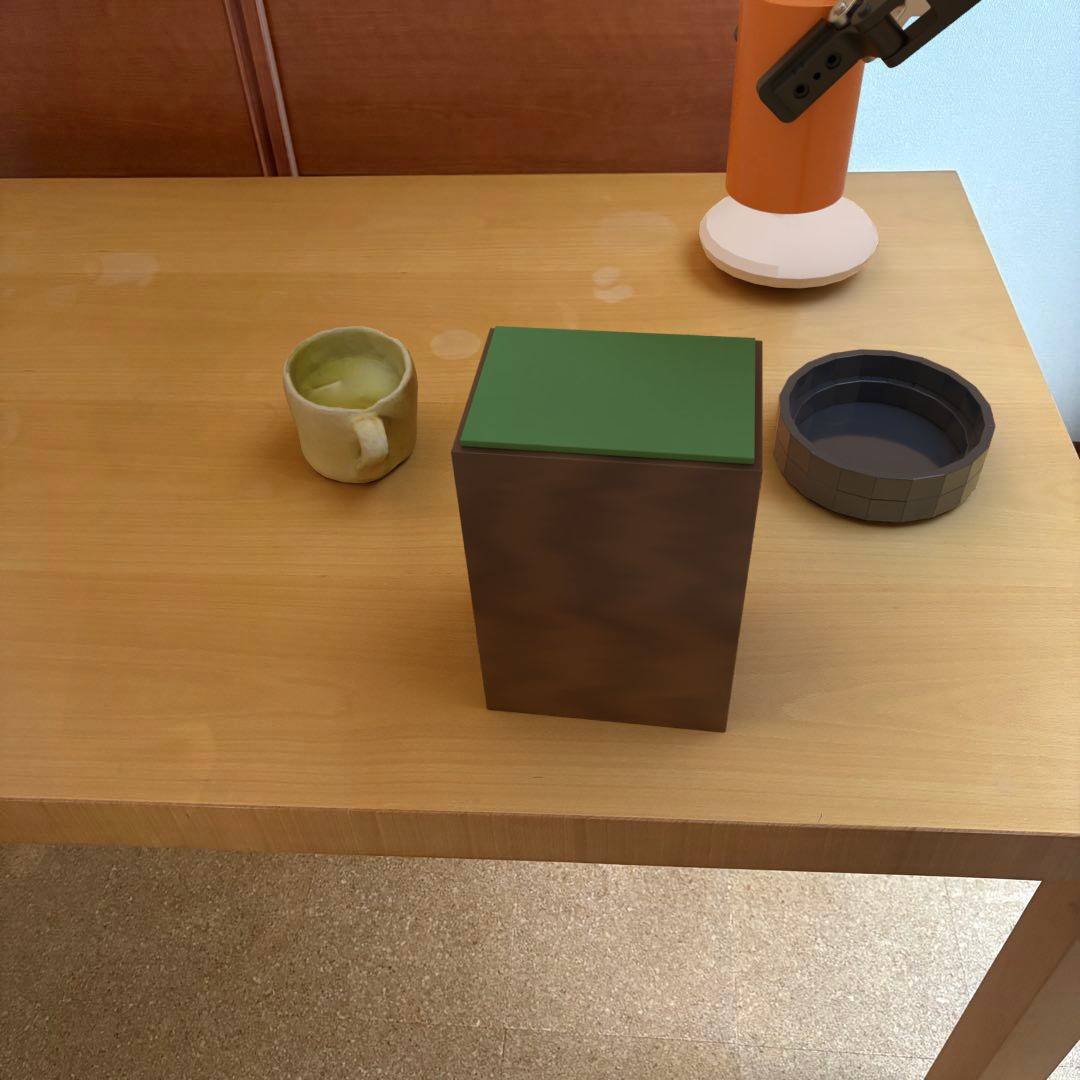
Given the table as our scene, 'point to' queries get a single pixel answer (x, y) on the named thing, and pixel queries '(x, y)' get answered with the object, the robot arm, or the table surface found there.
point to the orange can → (787, 148)
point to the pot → (882, 435)
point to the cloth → (616, 395)
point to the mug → (353, 402)
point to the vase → (788, 243)
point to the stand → (608, 578)
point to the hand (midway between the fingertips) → (758, 77)
